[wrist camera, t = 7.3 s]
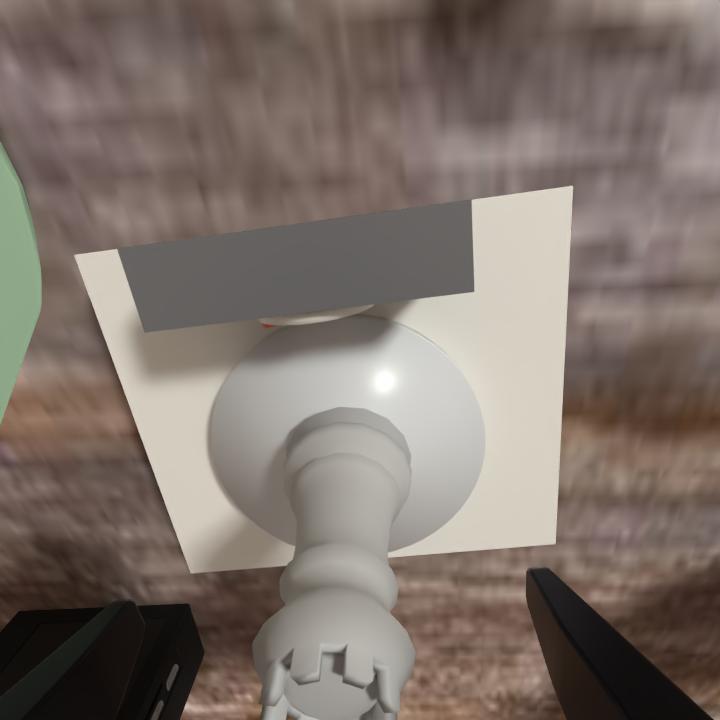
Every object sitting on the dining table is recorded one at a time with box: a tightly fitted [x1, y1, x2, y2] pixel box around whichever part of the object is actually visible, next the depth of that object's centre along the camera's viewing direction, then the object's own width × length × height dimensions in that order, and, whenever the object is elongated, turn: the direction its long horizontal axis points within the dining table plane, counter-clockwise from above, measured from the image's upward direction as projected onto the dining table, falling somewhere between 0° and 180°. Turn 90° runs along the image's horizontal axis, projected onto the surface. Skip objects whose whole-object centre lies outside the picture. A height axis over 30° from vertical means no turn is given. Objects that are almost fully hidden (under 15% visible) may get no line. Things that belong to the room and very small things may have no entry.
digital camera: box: [0, 604, 204, 720], centre depth 21 cm, size 10×5×7 cm, turn 95°
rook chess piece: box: [252, 407, 416, 720], centre depth 11 cm, size 4×4×8 cm
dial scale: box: [74, 186, 573, 573], centre depth 14 cm, size 16×14×7 cm
